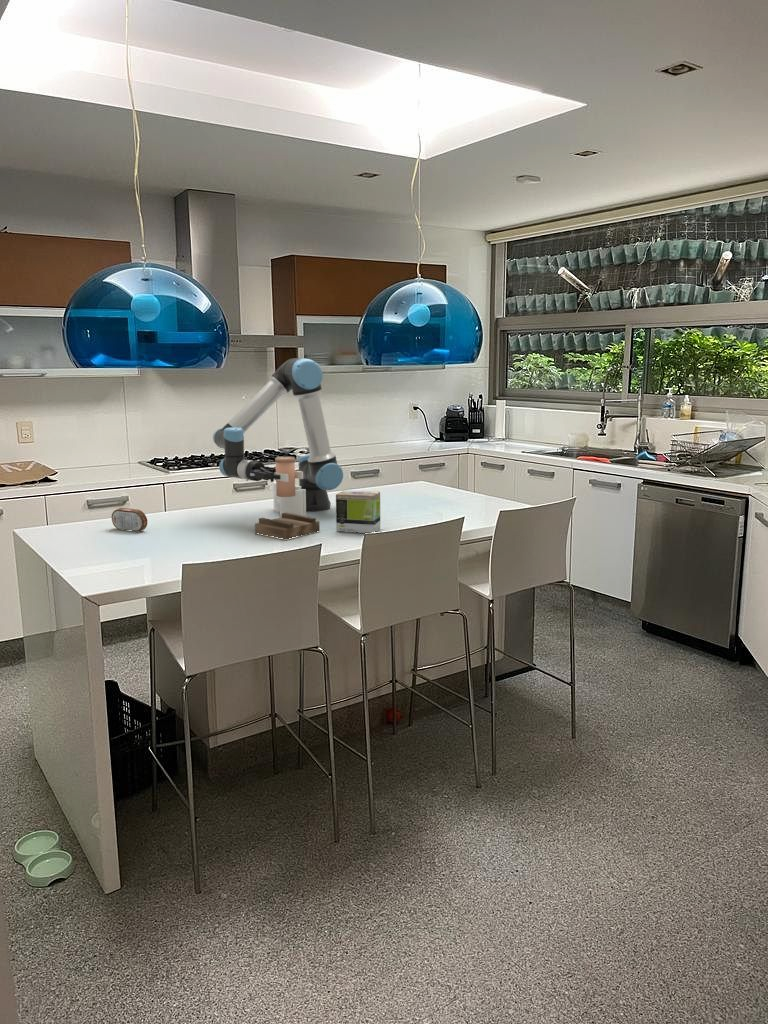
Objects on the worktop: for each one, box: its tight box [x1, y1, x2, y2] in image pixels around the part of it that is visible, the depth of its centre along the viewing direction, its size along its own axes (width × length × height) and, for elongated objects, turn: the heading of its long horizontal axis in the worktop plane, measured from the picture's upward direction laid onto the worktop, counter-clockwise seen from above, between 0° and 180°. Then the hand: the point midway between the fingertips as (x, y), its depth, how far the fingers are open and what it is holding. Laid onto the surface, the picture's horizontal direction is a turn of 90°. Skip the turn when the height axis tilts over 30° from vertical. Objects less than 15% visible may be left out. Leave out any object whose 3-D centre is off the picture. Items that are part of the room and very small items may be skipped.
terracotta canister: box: [274, 456, 296, 497], centre depth 296 cm, size 7×7×14 cm
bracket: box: [272, 480, 307, 518], centre depth 333 cm, size 25×10×12 cm, turn 20°
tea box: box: [335, 489, 381, 534], centre depth 304 cm, size 15×10×15 cm, turn 74°
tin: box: [111, 507, 148, 532], centre depth 302 cm, size 15×3×8 cm, turn 68°
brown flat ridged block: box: [254, 513, 321, 539], centre depth 300 cm, size 18×16×6 cm
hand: (295, 476), depth 293 cm, fingers closed on terracotta canister, 7 cm apart
